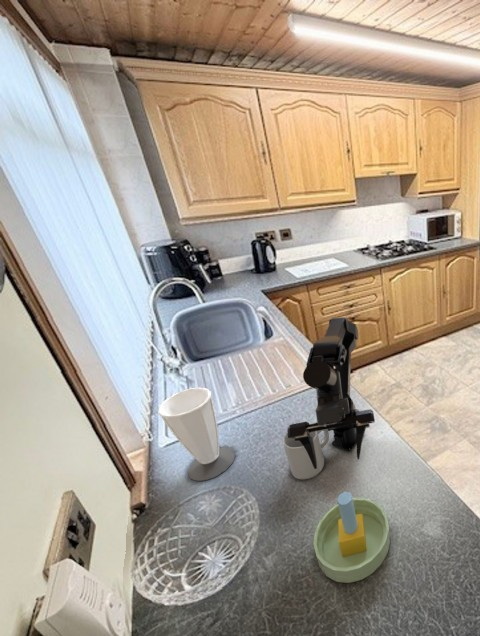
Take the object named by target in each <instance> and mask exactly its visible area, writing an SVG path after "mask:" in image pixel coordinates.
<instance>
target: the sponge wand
mask: <svg viewBox="0 0 480 636" xmlns="http://www.w3.org/2000/svg"><path fill="white" fill-rule="evenodd" d="M337 504H338V505H339V510H340V514H341V519H339V520H338V525H339V545H340V549H341V553H342V557H346V556H350V555H354V554H357V553H361V552H365V551H367V545H366V535H365V526H364V521H363V515H362V514H358V515H356V514H355V509H354V504H353V495H352V493H351V492H350V491H343V492H341V493H340V494H339V495H338V497H337Z"/></svg>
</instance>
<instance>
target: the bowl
mask: <svg viewBox="0 0 480 636" xmlns="http://www.w3.org/2000/svg"><path fill="white" fill-rule="evenodd" d="M352 499H353V504H354V509H355V514H356V515H358V514H362V515H363V521H364V526H365V535H366V545H367V551H365V552H361V553H357V554H354V555H350V556H346V557H342V553H341V549H340V545H339V525H338V520H339V519H341V514H340V510H339V505H338V503H337V504H335V505H334V506H333V507H331V508H330V509H328V511H326V512H325V513H324V515H323V517H322V518H321V519H320V520H319V522H318V524H317V527H316V529H315V532H314V535H313V549H314V552H315V556H316V560H317V562H318V566H319V568H320V570H321V572H323V574H324V575H325V576H326V577H327V578H329V579H330V580H333V581H334V582H336V583H344V584H345V583H346V584H351V583H354V582H357V581H362V580H363V579H365V578H367V577H369V576H371V574H374V572H375V571H377V569H378V568H379V567H380V566H382V564H383V562H384V560H385V558H386V556H387V554H388V553H389V548H390V544H391V533H390V525H389V517H388V516H387V514H386V511H385V510H384V508H383V507H382V506H380V504H378V503H377V501H373V500H371V499H369V498H366V497H354V498H353V497H352Z"/></svg>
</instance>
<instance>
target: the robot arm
mask: <svg viewBox="0 0 480 636" xmlns="http://www.w3.org/2000/svg"><path fill="white" fill-rule="evenodd" d="M357 340H359V329H358V326H357V324H356V323H354V322H352V321H350V320H349V319H348V318H347V317H332V318H330V319H329V321H328V326H327V329H326V331H325V333H324V335H323V337H322V338H319V339H317V340H316V341H315V342H314V343H313V345H312V347H310V350H309V354H308V357H307V361H306V366H305V368H304V371H303V373H302V377H303V378H302V379H303V381H304V383H305V384H306V385H307V386H308V387H310V388H312V389H314V390H315V391H316V402H317V403H316V404H317V406H316V408H315V415H316V422H315V423H314V422H313V423H310V422H308V421H302V422H297V423H292V424H291V423H290V424H289V425H288V427H287V431H286V433H288V438H292V439H294V438H295V441H300V442H301V443H302V445H303V446H304V448H305V449H306V451H307V453H308V455H309V458H310V460H311V462H312V464H313V467H314V469H317V460H316V454H315V449H314V443H313V437H311V436H309V434H310V432H315V431H320V430H325V429H327V430H328V432H330V431H333V439H334V440H333V441H332V442H331V445H332V446H333V447H336V448H339V449H342V450H345V451H348V452H350V451H352V450H353V449H354V448H356V458H357V461H359V460H360V457H361V451H362V444H363V439H364V436H365V432H366V429H368V428H371V427H370V424H374V423H376V420H375V415H374V414H375V413H374V410H372V409H371V408H369V409H364V410H359V409H357V408H356V406H355V403H354V401H353V399H352V398H351V372H352V371H351V367H352V366H351V365H352V353H353V352H354V351H355V349H356V348H357ZM355 446H356V447H355Z"/></svg>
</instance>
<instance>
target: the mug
mask: <svg viewBox="0 0 480 636" xmlns="http://www.w3.org/2000/svg"><path fill="white" fill-rule="evenodd" d="M321 432H323V439H322V440H321V441H320V436H319V434H321ZM309 436H311V437H313V443H314V449H315V454H316V460H317V469H314V467H313V464H312V462H311V460H310V458H309V455H308V453H307V451H306V449H305V448H304V446H303V445H302V443H301V442H300V441H295V438H294V439H292V438H288V433H287V432H285V434H284V436H283V439H282V444H283V448H284V451H285V454H286V458H287V461H288V464H289V468H290V472H291V475H292V476H293V477H294V478H296V479H298V480H302V481H303V480H309V479H312V478H314V477H316V476H317V475H318V474H319V473H320V472H321V471H322V470H323V469H324V466H325V457H324V453H323V448H325V446H326V445H328V443H329V440H330V434H329V431H328V429H325V430H320V431H315V432H310V434H309Z"/></svg>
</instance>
